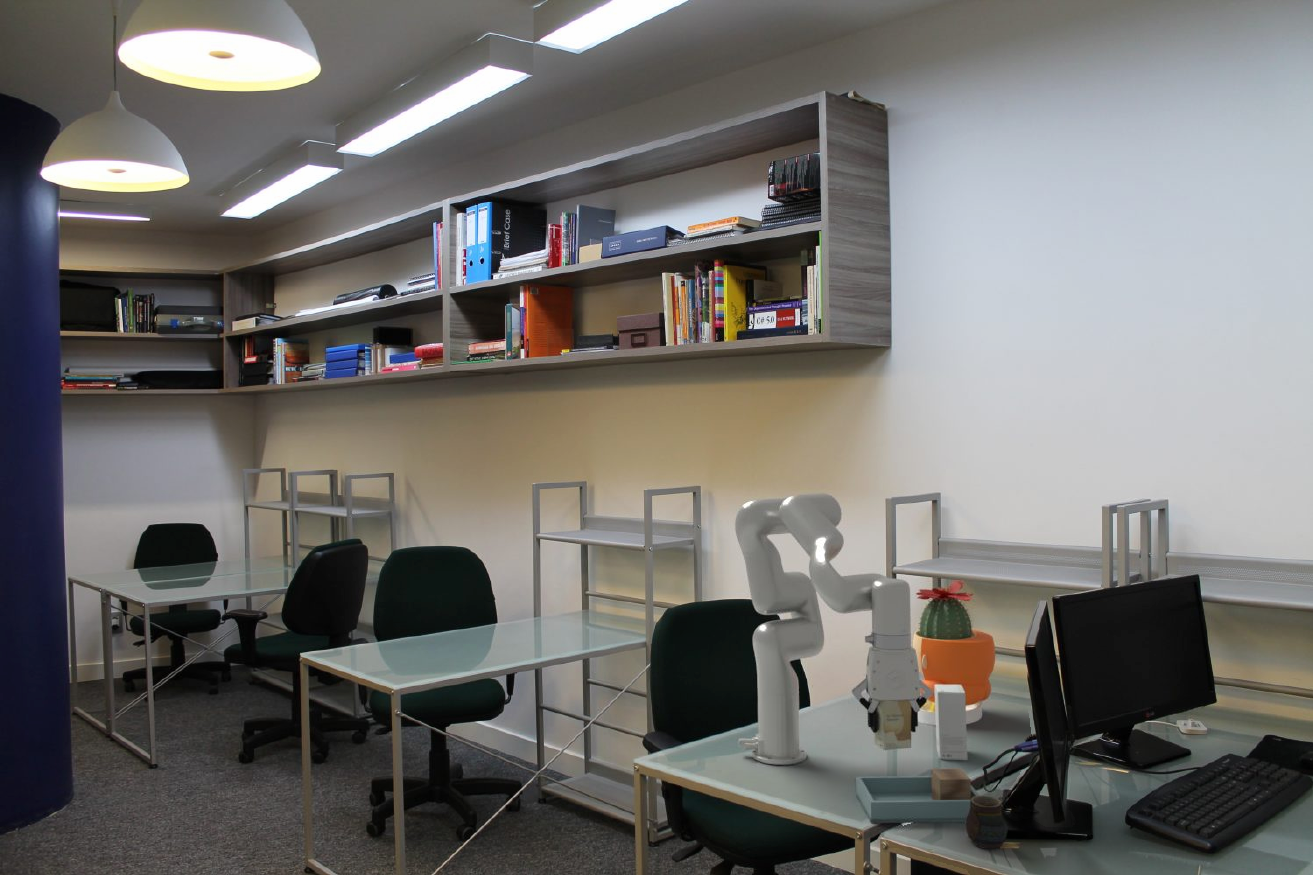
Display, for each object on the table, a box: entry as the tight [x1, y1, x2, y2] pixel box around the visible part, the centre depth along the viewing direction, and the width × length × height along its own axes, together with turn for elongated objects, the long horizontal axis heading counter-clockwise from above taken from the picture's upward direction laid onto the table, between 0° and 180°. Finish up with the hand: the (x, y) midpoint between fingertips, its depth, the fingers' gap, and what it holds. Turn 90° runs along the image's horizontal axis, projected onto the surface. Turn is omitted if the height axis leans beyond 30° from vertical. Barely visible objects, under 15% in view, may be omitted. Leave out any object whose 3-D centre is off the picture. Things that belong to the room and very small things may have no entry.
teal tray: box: [855, 775, 981, 824], centre depth 194 cm, size 22×14×4 cm, turn 90°
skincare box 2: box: [934, 685, 968, 761], centre depth 226 cm, size 8×7×16 cm
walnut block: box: [931, 768, 972, 800], centre depth 194 cm, size 6×6×6 cm
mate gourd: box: [965, 794, 1008, 850], centre depth 177 cm, size 7×8×10 cm
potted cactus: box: [912, 580, 996, 726], centre depth 256 cm, size 22×22×35 cm
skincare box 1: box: [873, 700, 912, 751], centre depth 194 cm, size 6×4×12 cm
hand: (892, 729), depth 194 cm, fingers closed on skincare box 1, 7 cm apart
